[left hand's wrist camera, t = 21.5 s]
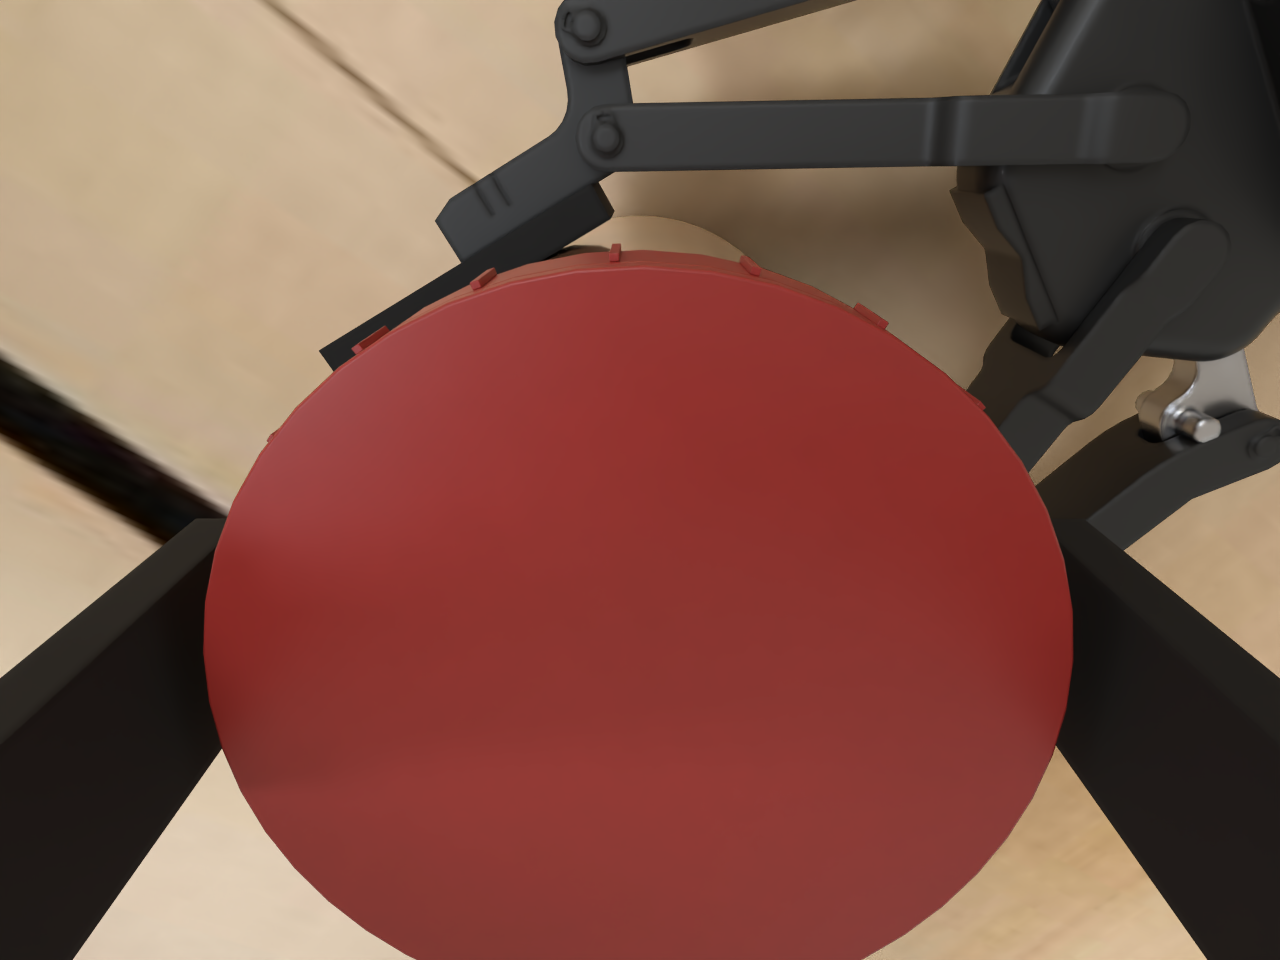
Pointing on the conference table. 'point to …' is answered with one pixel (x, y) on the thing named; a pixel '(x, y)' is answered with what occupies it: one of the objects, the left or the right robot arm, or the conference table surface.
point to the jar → (651, 238)
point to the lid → (638, 623)
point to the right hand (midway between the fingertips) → (480, 537)
